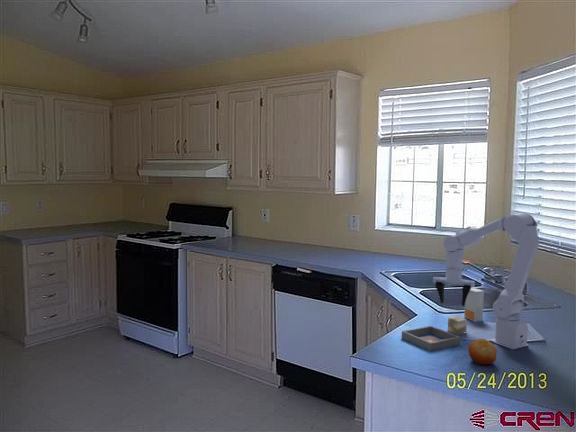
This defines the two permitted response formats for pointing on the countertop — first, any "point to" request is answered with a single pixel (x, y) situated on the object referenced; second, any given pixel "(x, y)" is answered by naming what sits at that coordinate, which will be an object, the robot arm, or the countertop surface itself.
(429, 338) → the coaster
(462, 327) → the birch block
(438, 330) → the low pen
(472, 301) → the skincare box
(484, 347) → the fruit
